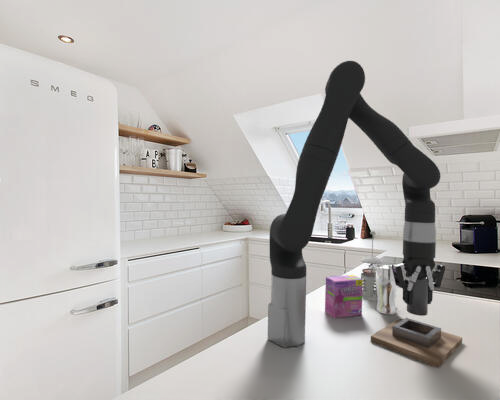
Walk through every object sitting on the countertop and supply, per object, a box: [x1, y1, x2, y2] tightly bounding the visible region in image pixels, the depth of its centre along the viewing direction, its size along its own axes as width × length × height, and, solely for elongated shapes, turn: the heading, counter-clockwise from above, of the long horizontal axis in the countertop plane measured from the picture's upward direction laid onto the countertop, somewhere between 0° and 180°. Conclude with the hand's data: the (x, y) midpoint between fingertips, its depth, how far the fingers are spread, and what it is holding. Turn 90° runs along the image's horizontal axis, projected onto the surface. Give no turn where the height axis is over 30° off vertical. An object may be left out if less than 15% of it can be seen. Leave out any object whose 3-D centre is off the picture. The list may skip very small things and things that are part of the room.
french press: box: [360, 230, 384, 302], centre depth 115 cm, size 10×12×25 cm
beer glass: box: [375, 263, 399, 316], centre depth 101 cm, size 7×7×15 cm
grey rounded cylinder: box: [406, 276, 429, 317], centre depth 80 cm, size 5×5×9 cm
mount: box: [370, 317, 463, 369], centre depth 80 cm, size 18×16×4 cm
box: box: [324, 274, 364, 319], centre depth 99 cm, size 10×6×12 cm, turn 105°
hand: (417, 303), depth 80 cm, fingers closed on grey rounded cylinder, 4 cm apart
